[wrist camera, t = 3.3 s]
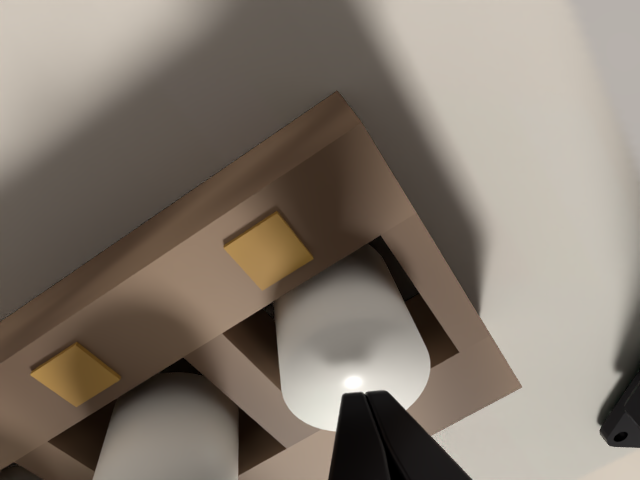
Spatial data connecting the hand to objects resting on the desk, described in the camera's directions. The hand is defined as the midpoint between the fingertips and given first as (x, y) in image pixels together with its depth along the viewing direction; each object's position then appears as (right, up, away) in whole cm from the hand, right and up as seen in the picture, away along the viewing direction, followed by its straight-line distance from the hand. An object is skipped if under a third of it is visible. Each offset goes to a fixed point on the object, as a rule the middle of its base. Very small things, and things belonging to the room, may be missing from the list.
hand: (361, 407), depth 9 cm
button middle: (-4, -1, +3) cm, 5 cm away
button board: (-5, 0, +5) cm, 6 cm away
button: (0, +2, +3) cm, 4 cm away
